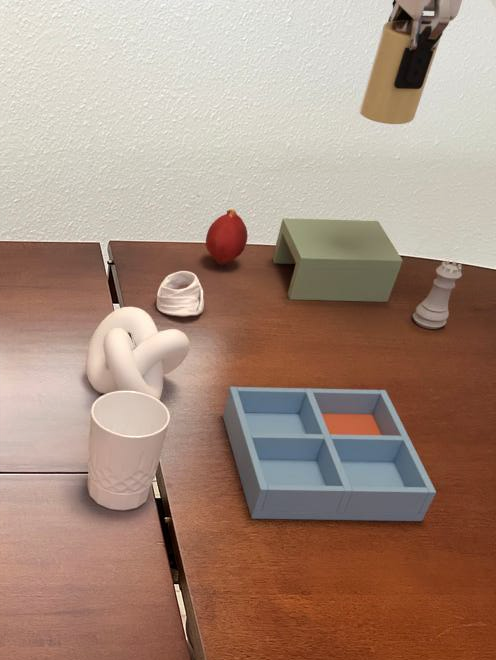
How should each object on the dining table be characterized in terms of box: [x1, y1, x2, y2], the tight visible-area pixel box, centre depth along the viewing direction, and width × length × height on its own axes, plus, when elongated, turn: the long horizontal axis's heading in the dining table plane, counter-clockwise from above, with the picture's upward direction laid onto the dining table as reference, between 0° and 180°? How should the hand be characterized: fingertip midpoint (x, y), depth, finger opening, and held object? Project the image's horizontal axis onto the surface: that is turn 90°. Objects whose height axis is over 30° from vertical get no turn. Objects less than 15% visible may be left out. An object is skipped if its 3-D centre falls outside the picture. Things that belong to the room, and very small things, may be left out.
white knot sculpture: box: [85, 306, 190, 401], centre depth 105 cm, size 11×12×9 cm
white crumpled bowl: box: [156, 270, 205, 317], centre depth 120 cm, size 8×7×5 cm
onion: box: [205, 208, 248, 266], centre depth 128 cm, size 6×6×8 cm
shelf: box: [272, 217, 403, 303], centre depth 126 cm, size 14×12×6 cm
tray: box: [222, 386, 437, 522], centre depth 99 cm, size 18×18×4 cm
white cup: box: [86, 391, 171, 511], centre depth 92 cm, size 8×8×10 cm
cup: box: [358, 21, 442, 125], centre depth 106 cm, size 7×7×9 cm
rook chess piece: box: [412, 260, 463, 330], centre depth 119 cm, size 4×4×8 cm
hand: (398, 75), depth 107 cm, fingers closed on cup, 6 cm apart
